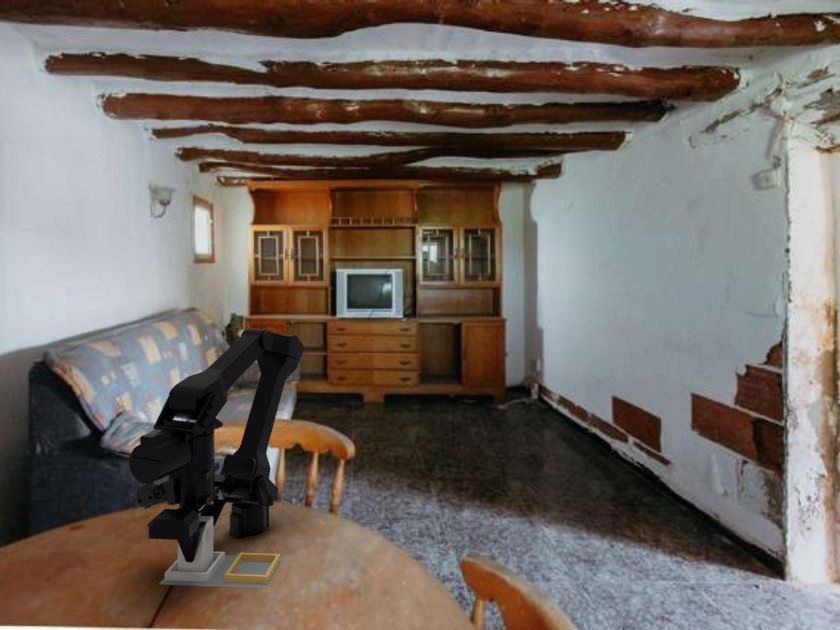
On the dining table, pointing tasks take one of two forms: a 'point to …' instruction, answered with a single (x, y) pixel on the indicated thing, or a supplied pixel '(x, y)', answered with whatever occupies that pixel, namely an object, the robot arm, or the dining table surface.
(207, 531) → the plug
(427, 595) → the dining table surface
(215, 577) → the socket panel
